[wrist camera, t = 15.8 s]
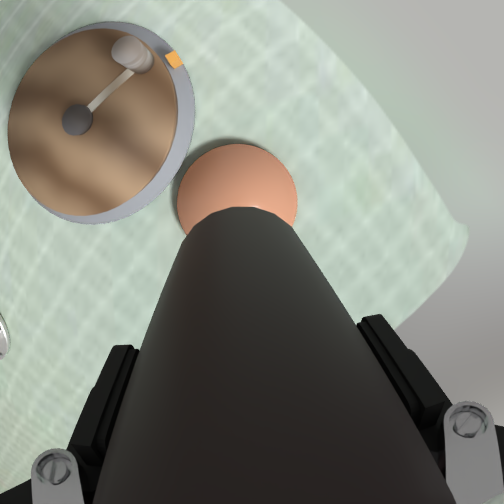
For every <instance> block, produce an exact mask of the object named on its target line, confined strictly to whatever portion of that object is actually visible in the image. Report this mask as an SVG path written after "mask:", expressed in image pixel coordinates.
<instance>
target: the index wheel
mask: <svg viewBox="0 0 504 504" xmlns="http://www.w3.org/2000/svg"><path fill="white" fill-rule="evenodd" d="M177 123H178V99H177V94H176V89H175V85H174V82H173V79H172V77H171V74H170V72H169V71H168V69H167V67H166V65H165V64H164V62H163V61H162V60H161V58H160V57H159V56H158V55H157V54H156V53H155V51H153V50H152V49H151V48H150V47H149V46H148V45H147V44H146V43H145V42H143V41H142V40H140V39H139V38H137V37H135V36H133V35H131V34H129V33H127V32H123V31H120V30H115V29H107V28H100V29H90V30H84V31H81V32H78V33H74V34H72V35H70V36H67V37H65V38H63V39H61V40H60V41H58V42H57V43H55V44H53V45H52V46H51V47H49V48H48V49H47V50H46V51H45V52H43V53H42V54H41V55H40V56H39V57H38V58H37V59H36V60H35V62H34V63H33V64H32V65H31V67H30V68H29V69H28V71H27V72H26V74H25V75H24V77H23V78H22V80H21V82H20V84H19V86H18V88H17V90H16V93H15V96H14V98H13V101H12V105H11V109H10V114H9V121H8V145H9V151H10V156H11V160H12V163H13V166H14V169H15V171H16V173H17V175H18V177H19V179H20V180H21V182H22V184H23V185H24V187H25V188H26V189H27V190H28V191H29V193H30V194H31V195H32V196H33V197H34V198H36V199H37V200H38V201H39V202H41V203H42V204H43V205H45V206H46V207H48V208H50V209H52V210H54V211H57V212H60V213H63V214H68V215H74V216H89V215H96V214H100V213H103V212H107V211H109V210H112V209H114V208H116V207H118V206H120V205H121V204H123V203H125V202H126V201H128V200H130V199H131V198H133V197H134V196H135V195H137V194H138V193H139V192H140V191H142V190H143V189H144V188H145V187H146V186H147V185H148V184H149V183H150V182H151V181H152V180H153V178H154V177H155V176H156V174H157V173H158V172H159V171H160V169H161V167H162V166H163V164H164V162H165V161H166V159H167V156H168V154H169V152H170V150H171V147H172V144H173V141H174V138H175V134H176V128H177Z"/></svg>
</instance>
